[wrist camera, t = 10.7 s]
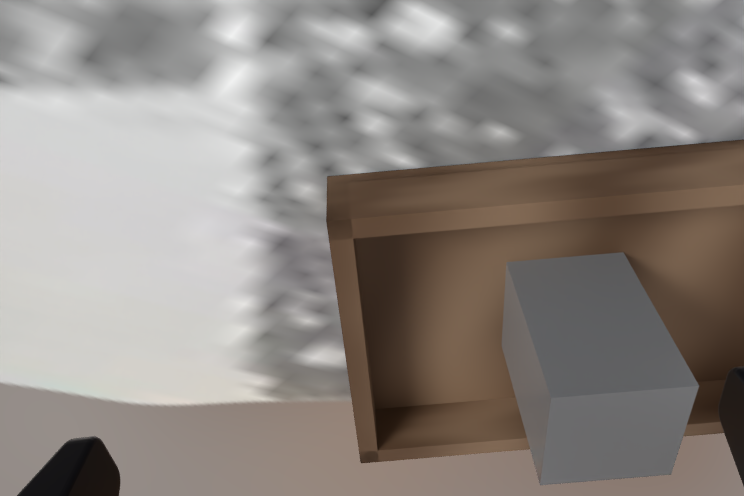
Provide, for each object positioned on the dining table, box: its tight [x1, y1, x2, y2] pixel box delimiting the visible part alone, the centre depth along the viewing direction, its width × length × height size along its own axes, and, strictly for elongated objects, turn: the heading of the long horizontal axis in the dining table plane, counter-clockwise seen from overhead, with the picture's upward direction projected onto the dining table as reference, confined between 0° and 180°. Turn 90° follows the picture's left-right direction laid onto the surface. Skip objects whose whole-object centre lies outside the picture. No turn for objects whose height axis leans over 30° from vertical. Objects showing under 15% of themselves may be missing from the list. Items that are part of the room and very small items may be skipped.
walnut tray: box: [326, 140, 744, 463], centre depth 24 cm, size 17×11×2 cm, turn 94°
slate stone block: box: [502, 252, 699, 485], centre depth 22 cm, size 4×4×6 cm
